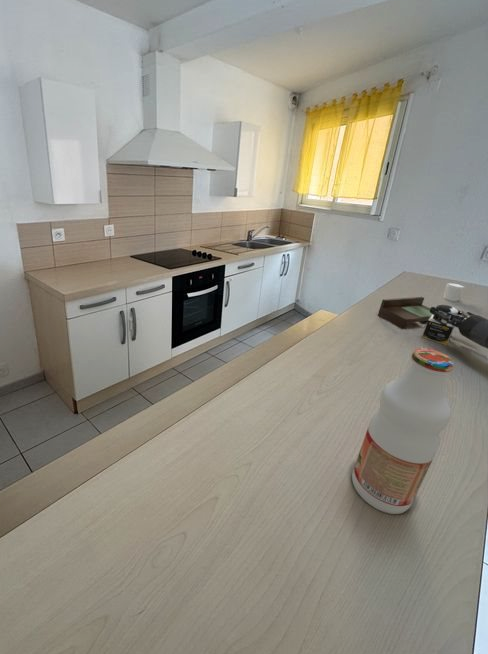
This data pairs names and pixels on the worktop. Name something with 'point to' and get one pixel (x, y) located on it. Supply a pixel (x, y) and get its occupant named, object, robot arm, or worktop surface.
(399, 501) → the fruit juice
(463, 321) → the robot arm
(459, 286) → the white cylinder
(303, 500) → the worktop surface
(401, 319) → the dark wooden tray
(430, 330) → the medicine bottle
